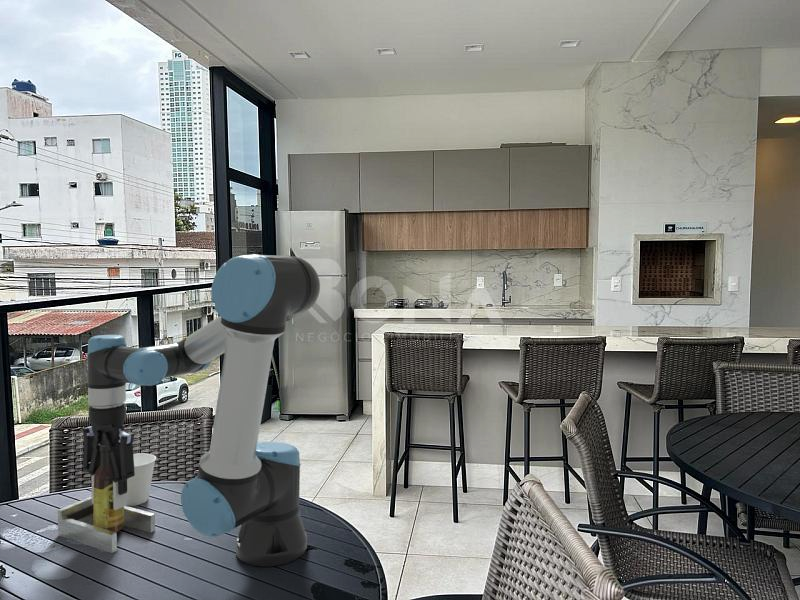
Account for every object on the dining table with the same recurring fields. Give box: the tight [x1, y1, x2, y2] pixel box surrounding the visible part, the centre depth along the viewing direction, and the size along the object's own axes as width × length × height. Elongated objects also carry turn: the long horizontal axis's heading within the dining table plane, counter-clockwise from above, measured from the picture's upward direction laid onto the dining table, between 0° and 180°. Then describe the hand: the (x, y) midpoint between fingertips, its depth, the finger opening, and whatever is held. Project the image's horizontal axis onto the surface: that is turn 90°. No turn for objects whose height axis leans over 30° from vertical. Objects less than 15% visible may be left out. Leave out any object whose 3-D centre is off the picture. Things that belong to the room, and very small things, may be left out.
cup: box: [126, 452, 157, 507], centre depth 146 cm, size 10×10×11 cm
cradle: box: [57, 495, 156, 554], centre depth 129 cm, size 17×11×6 cm, turn 66°
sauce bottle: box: [92, 444, 124, 533], centre depth 129 cm, size 7×6×20 cm
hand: (109, 504), depth 129 cm, fingers closed on sauce bottle, 6 cm apart
